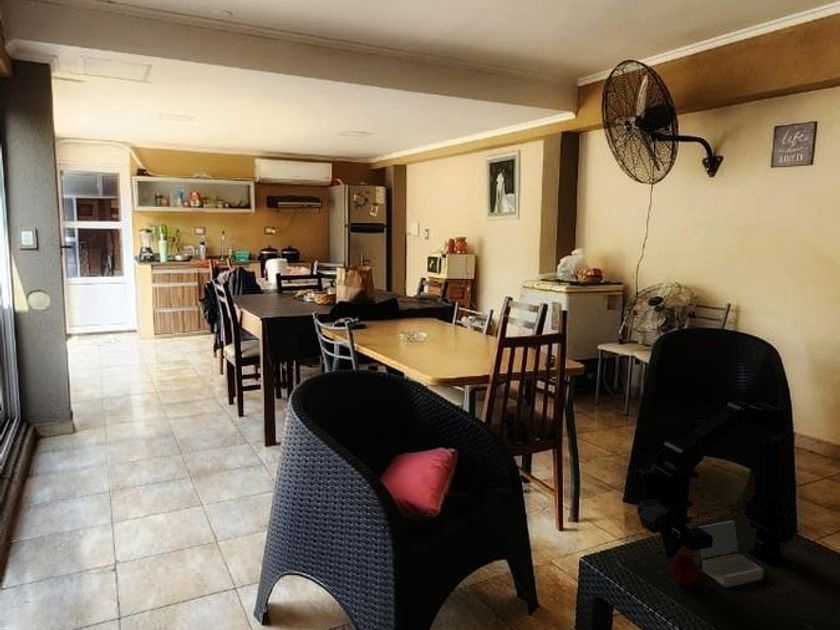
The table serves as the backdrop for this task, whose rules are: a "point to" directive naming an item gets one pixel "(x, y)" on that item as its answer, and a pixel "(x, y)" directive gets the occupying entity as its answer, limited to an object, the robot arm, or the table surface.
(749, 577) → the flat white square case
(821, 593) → the table surface
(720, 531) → the cover
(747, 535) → the table surface
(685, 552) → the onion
